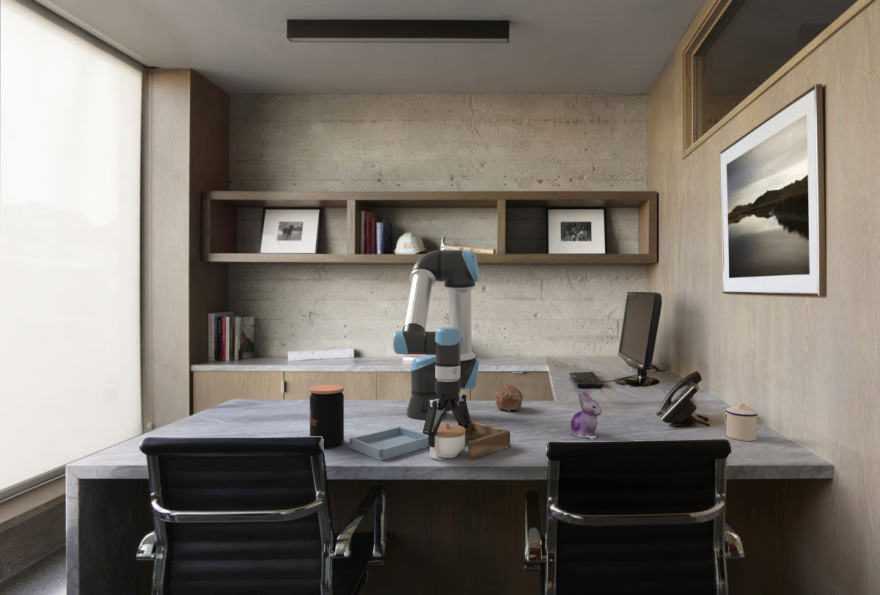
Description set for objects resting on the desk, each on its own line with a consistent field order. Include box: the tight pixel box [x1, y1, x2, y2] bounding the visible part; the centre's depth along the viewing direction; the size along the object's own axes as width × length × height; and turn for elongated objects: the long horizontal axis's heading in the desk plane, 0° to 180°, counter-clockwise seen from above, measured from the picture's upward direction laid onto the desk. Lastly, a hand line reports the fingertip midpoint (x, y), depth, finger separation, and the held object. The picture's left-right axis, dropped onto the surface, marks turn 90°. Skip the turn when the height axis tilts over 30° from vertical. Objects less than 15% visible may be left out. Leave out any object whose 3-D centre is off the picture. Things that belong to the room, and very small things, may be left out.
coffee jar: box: [309, 384, 345, 449], centre depth 159 cm, size 11×11×18 cm
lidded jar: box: [432, 422, 466, 459], centre depth 149 cm, size 11×11×9 cm
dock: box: [465, 420, 511, 461], centre depth 156 cm, size 16×18×5 cm
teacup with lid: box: [723, 401, 758, 442], centre depth 168 cm, size 12×9×12 cm
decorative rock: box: [495, 383, 524, 411], centre depth 206 cm, size 13×11×10 cm
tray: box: [349, 425, 430, 461], centre depth 156 cm, size 16×20×3 cm
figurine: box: [570, 389, 603, 436], centre depth 169 cm, size 9×10×15 cm
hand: (447, 453), depth 149 cm, fingers closed on lidded jar, 11 cm apart
